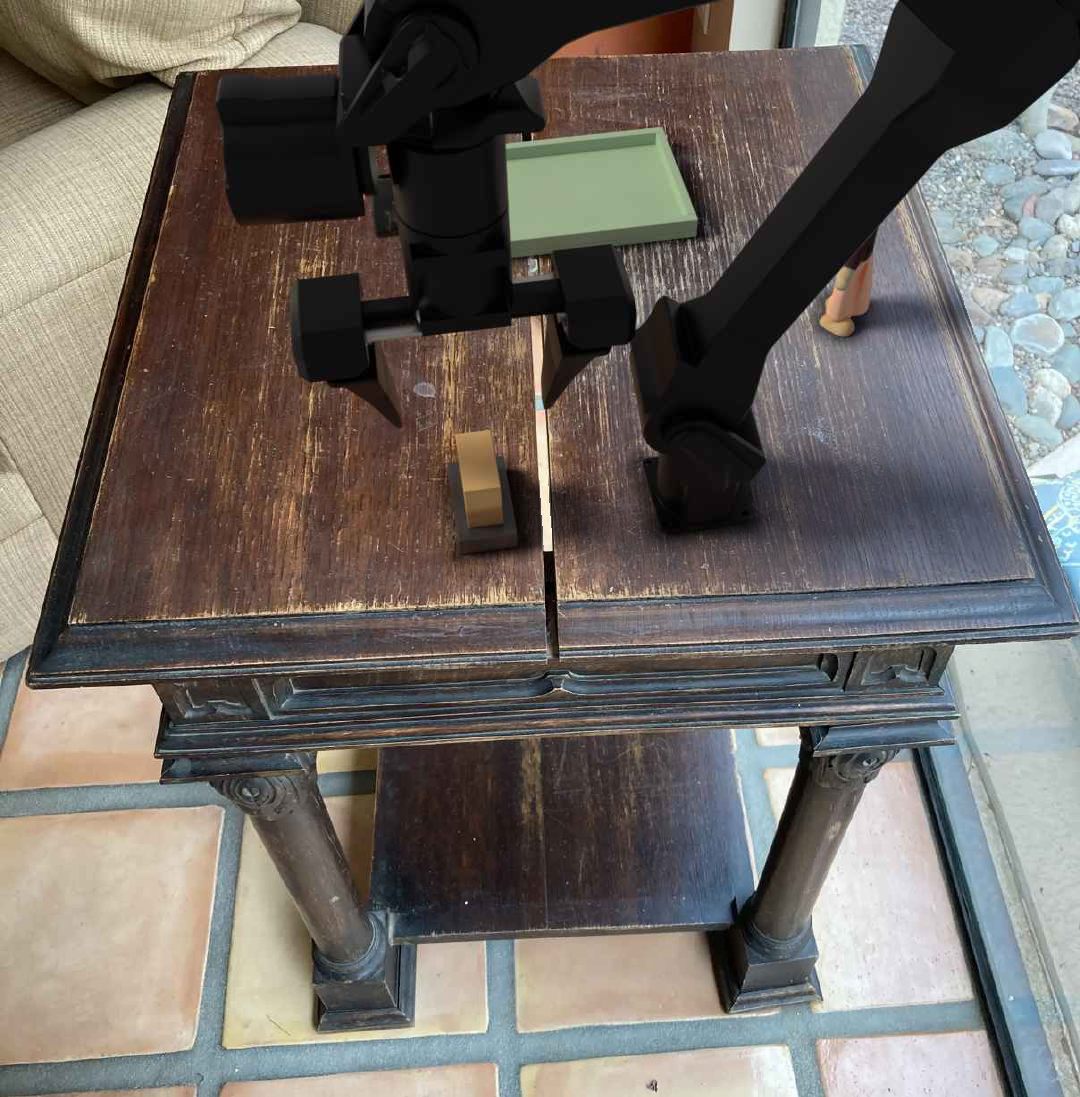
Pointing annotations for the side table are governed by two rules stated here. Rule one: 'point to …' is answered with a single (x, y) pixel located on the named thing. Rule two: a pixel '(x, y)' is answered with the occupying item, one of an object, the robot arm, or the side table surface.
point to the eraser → (481, 495)
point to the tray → (595, 192)
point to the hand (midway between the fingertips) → (473, 413)
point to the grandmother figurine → (850, 291)
